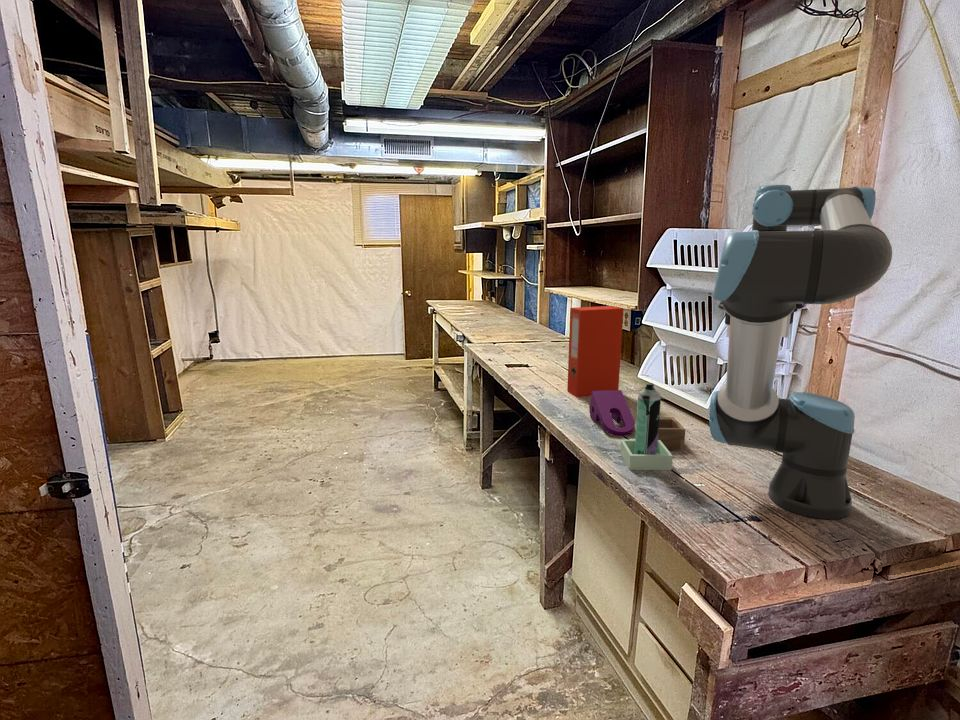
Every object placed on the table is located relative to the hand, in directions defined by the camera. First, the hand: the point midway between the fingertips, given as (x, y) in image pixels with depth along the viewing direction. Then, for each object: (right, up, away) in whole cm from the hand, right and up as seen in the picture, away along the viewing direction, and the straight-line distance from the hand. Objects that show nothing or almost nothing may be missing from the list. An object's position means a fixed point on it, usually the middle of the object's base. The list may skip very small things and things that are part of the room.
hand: (756, 337), depth 131 cm
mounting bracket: (-30, -27, +28) cm, 49 cm away
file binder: (-28, -18, +63) cm, 71 cm away
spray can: (-28, -31, +2) cm, 42 cm away
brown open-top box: (-19, -29, +15) cm, 38 cm away
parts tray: (-28, -32, +2) cm, 42 cm away
